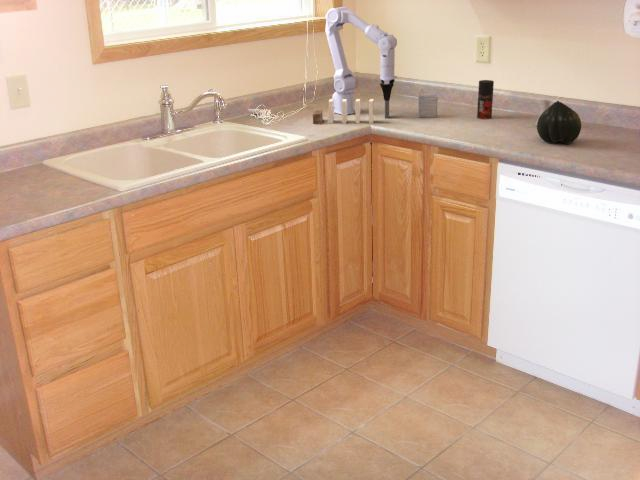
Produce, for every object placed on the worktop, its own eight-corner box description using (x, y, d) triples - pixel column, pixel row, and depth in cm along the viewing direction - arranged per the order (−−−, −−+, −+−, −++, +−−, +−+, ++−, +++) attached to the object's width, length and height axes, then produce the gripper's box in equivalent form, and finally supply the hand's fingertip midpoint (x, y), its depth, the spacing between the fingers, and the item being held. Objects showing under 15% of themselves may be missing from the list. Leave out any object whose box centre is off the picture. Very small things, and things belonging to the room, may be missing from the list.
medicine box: (436, 115, 315) (437, 94, 311) (437, 117, 310) (437, 97, 307) (417, 115, 315) (418, 95, 312) (418, 117, 311) (418, 97, 308)
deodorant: (475, 118, 307) (477, 82, 301) (478, 115, 312) (480, 79, 306) (490, 119, 304) (492, 82, 299) (492, 116, 310) (494, 80, 304)
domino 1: (328, 123, 306) (328, 101, 302) (330, 120, 310) (329, 99, 307) (332, 123, 306) (332, 101, 302) (334, 120, 310) (333, 99, 307)
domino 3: (355, 123, 304) (355, 101, 301) (356, 120, 309) (356, 99, 306) (359, 123, 304) (359, 101, 301) (360, 120, 309) (360, 98, 305)
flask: (555, 124, 293) (557, 99, 290) (552, 128, 287) (554, 103, 284) (536, 123, 296) (538, 98, 293) (533, 127, 290) (535, 102, 286)
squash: (572, 134, 255) (581, 97, 259) (529, 132, 263) (539, 95, 267) (578, 154, 267) (587, 118, 271) (537, 151, 275) (546, 115, 279)
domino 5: (384, 118, 311) (385, 97, 308) (385, 115, 316) (385, 94, 313) (388, 118, 311) (388, 97, 308) (389, 115, 316) (389, 94, 313)
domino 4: (368, 123, 304) (368, 101, 300) (369, 120, 308) (369, 99, 305) (372, 123, 304) (372, 101, 300) (373, 120, 308) (373, 98, 305)
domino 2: (342, 123, 305) (341, 101, 302) (343, 120, 310) (343, 99, 306) (346, 123, 305) (345, 101, 302) (347, 120, 309) (346, 99, 306)
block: (313, 123, 305) (312, 114, 304) (315, 119, 312) (315, 110, 311) (320, 123, 305) (320, 114, 303) (322, 119, 312) (322, 110, 311)
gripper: (396, 68, 299) (396, 102, 304) (397, 62, 312) (397, 95, 317) (379, 68, 299) (379, 102, 304) (380, 63, 313) (380, 95, 318)
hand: (387, 98), depth 311 cm, fingers open, 7 cm apart
